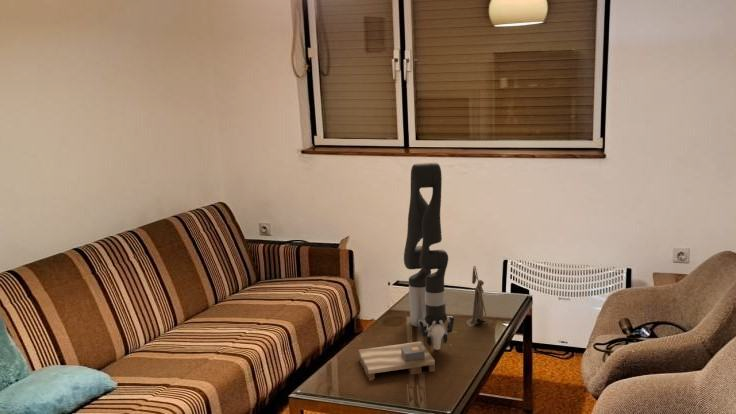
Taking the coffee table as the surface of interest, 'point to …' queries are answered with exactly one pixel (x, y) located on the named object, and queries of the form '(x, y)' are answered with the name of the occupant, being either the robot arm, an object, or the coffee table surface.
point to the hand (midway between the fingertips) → (436, 343)
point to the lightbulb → (437, 335)
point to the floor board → (392, 360)
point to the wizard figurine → (477, 301)
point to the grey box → (412, 353)
